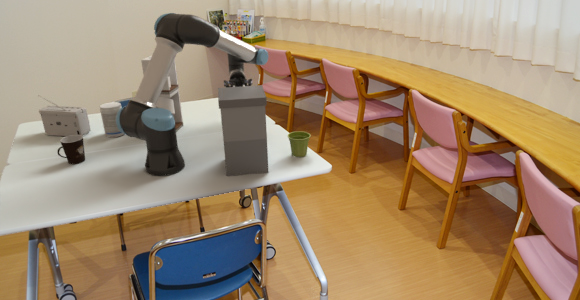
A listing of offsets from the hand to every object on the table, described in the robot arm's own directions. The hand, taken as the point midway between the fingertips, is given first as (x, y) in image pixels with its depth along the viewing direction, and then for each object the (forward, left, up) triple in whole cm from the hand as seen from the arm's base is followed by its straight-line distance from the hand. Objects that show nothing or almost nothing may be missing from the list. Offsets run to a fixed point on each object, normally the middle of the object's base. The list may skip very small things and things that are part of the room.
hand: (239, 92), depth 193 cm
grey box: (+7, -25, -23) cm, 34 cm away
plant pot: (+27, -13, -23) cm, 38 cm away
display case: (-40, +14, -23) cm, 49 cm away
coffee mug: (-66, -26, -23) cm, 75 cm away
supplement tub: (-63, +6, -23) cm, 68 cm away
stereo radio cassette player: (-87, +5, -23) cm, 91 cm away
